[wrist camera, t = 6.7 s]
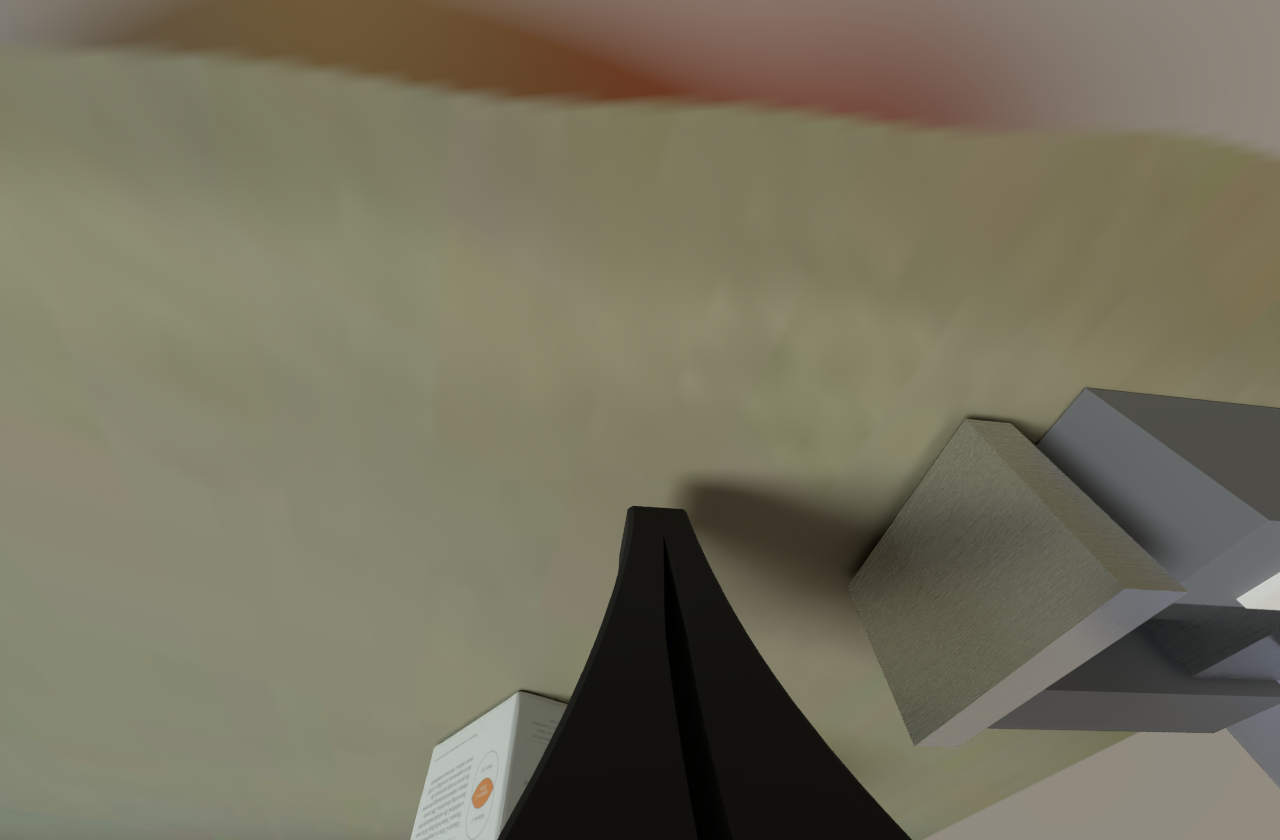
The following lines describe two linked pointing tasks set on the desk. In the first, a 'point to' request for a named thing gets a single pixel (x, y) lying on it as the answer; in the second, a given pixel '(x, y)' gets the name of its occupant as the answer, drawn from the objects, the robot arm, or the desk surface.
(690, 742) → the robot arm
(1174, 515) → the gauge housing
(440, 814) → the small box
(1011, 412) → the desk surface
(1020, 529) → the plunger
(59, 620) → the desk surface
